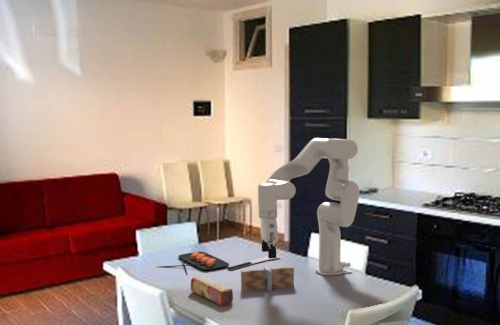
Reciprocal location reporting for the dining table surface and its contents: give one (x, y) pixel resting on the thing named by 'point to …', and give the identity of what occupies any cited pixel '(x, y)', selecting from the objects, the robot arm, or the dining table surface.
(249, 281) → the wooden board
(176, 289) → the dining table surface
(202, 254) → the sushi plate
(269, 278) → the notched grey block
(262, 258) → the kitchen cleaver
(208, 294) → the snack package
